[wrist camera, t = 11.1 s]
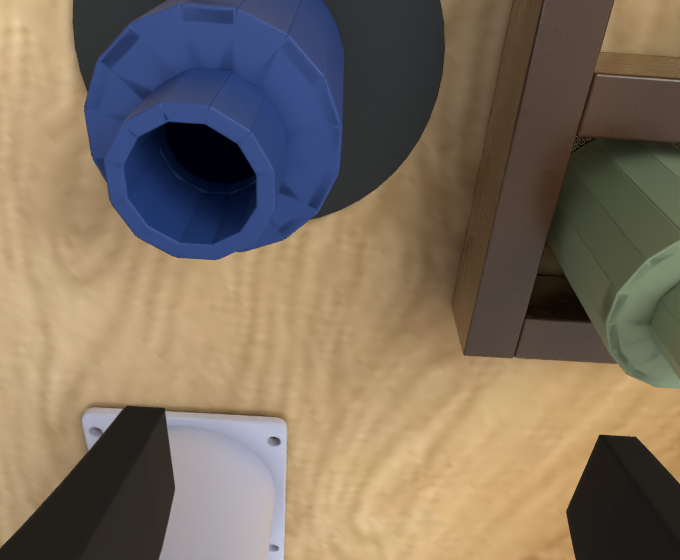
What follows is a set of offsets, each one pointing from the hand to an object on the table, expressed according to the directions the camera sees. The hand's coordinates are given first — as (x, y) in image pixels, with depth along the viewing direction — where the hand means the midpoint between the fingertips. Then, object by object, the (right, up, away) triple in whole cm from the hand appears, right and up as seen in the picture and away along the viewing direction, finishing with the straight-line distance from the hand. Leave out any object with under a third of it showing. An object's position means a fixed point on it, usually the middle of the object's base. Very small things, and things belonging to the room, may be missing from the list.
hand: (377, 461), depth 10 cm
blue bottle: (-3, +9, +6) cm, 11 cm away
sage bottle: (+8, +6, +9) cm, 13 cm away
